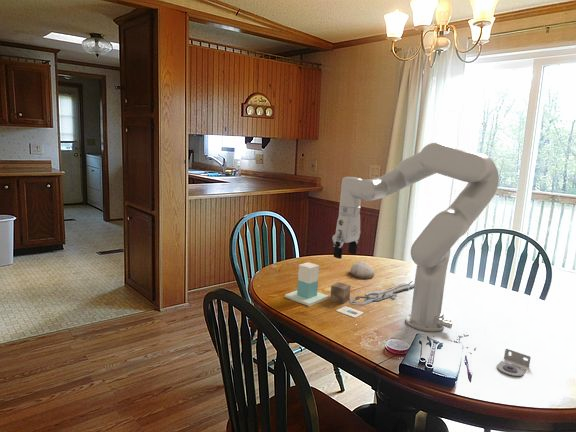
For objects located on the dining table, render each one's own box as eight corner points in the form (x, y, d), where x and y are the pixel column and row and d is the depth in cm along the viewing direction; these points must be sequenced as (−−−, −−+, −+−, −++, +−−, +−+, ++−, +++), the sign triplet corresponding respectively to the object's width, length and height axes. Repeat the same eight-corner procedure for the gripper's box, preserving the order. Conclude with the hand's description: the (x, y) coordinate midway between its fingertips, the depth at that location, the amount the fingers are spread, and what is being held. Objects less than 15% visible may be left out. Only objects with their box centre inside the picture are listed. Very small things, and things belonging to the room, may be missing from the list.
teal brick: (317, 295, 163) (318, 280, 162) (308, 299, 159) (309, 283, 158) (305, 291, 167) (306, 276, 165) (296, 294, 162) (297, 279, 161)
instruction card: (364, 313, 151) (364, 312, 151) (354, 317, 147) (355, 317, 147) (345, 306, 156) (345, 305, 156) (335, 310, 152) (336, 310, 152)
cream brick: (318, 280, 162) (319, 265, 161) (309, 283, 158) (310, 268, 157) (307, 276, 165) (308, 262, 164) (297, 279, 161) (298, 264, 160)
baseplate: (328, 298, 164) (328, 295, 163) (309, 306, 155) (309, 303, 154) (304, 289, 171) (304, 287, 171) (284, 297, 162) (284, 294, 162)
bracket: (493, 371, 117) (495, 359, 116) (504, 359, 124) (505, 348, 124) (519, 381, 113) (521, 369, 112) (529, 367, 120) (530, 356, 120)
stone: (366, 288, 190) (378, 276, 188) (349, 276, 189) (360, 263, 187) (363, 277, 203) (374, 265, 201) (347, 265, 202) (358, 252, 199)
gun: (344, 303, 162) (364, 312, 155) (344, 298, 162) (364, 306, 154) (405, 283, 187) (425, 290, 179) (405, 279, 187) (425, 285, 179)
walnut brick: (349, 300, 163) (350, 285, 162) (343, 304, 159) (344, 288, 158) (336, 296, 166) (337, 281, 165) (330, 300, 161) (331, 285, 160)
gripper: (344, 214, 147) (340, 262, 150) (370, 210, 160) (365, 254, 163) (327, 211, 152) (323, 257, 155) (353, 207, 164) (349, 249, 168)
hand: (344, 255), depth 159 cm, fingers open, 9 cm apart
